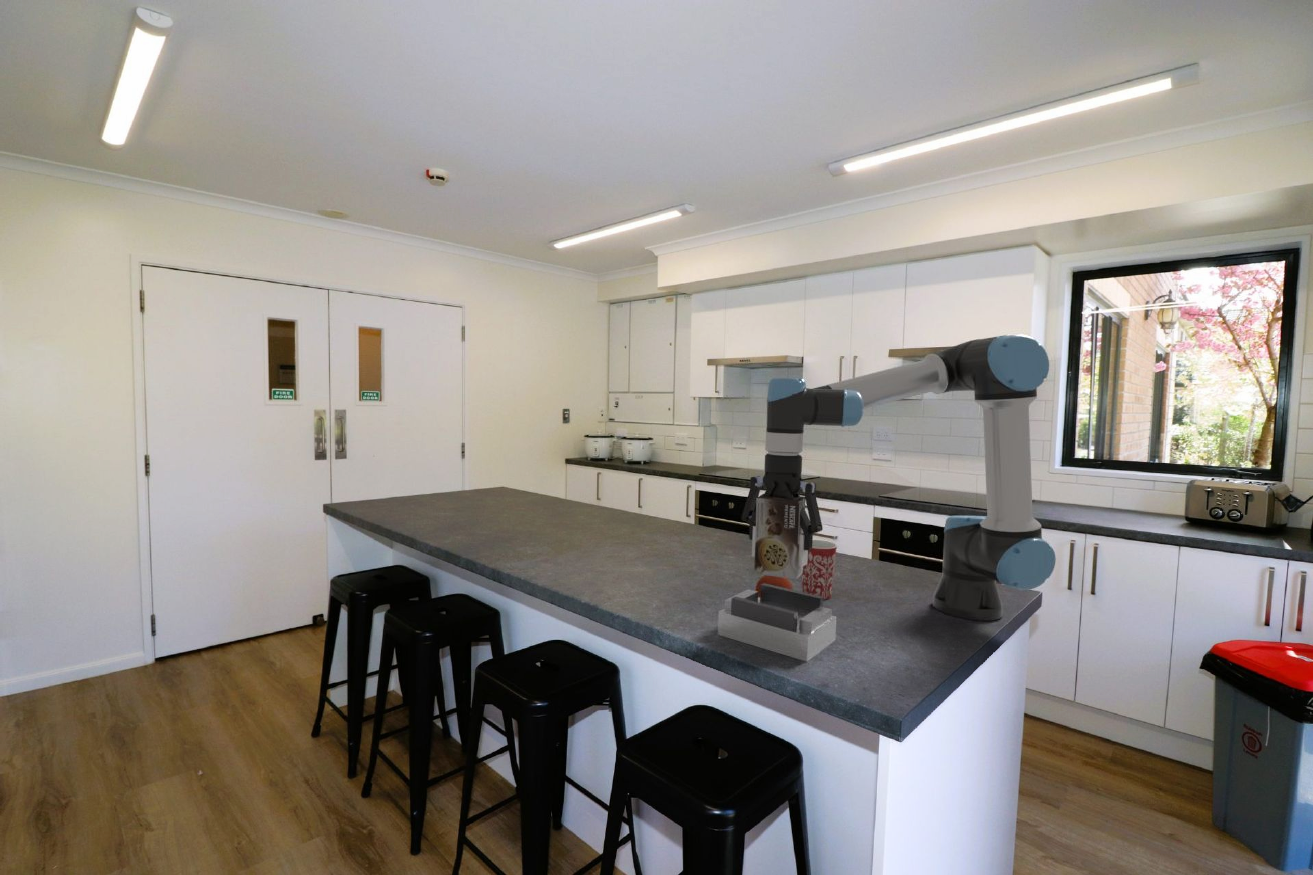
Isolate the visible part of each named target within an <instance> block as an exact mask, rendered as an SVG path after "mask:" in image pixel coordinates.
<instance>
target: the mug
mask: <svg viewBox="0 0 1313 875" xmlns="http://www.w3.org/2000/svg"><path fill="white" fill-rule="evenodd" d="M837 549H838V544H836V543H834V542H831V541H827V540H823V539H822V540H821V539H813V542H812V549H811V550H808V560H807V565H805V566H803V573H802V574H801V592H804V593H809V594H813V595H817V596H822V597H823V601H824V600H825V601H826V600H829V599H831V598H832V593H833V591H832V590H833V583H834V574H835V572H834V571H835V564H836V556H837Z"/></svg>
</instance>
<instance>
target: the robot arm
mask: <svg viewBox="0 0 1313 875" xmlns="http://www.w3.org/2000/svg"><path fill="white" fill-rule="evenodd" d="M1048 356H1049V355H1048V353H1047V352H1046V349H1045V348H1044V346H1043V345H1042V344H1041V343H1040V342H1038V341H1037V340H1036V339H1035V338H1033V337H1031V336H1029V335H1025V334H1005V335H999V336H993V337H985V338H978V339H973V340H969V341H965V342H962V343H959V344H956V345H954V346H951V347H949V348H946V349H943V350H939V351H936V352H932V353H930V354H929V353H928V354H927V355H925V356H924V358H923V359H922V360H919V361H916V362H910V363H908V364H903V365H898V366H895V367H892V368H888V369H884V370H880V371H876V372H872V373H869V374H868V373H867V374H864V375H860V376H856V377H852V378H847V379H844V380H841V381H837V382H833V383H829V384H826V385H821V386H817V387H814V388H810V387H809V388H808V387H807V385H806V384H807V382H806V380H805V379H804V378H798V377H797V378H796V377H775V378H771V379H770V381H769V382H768V387H767V396H766V431H765V447H764V450H765V451H766V452H767V453H765V455H764V475H763V476H759V475H756V476H751V477H750V480H749V482H750V484H749V485H750V487H749V491H748V494H747V498H746V501H745V504H744V507H743V511H742V514H741V521H742V522H746V523H747V524H748V525H749V528H748V529H749V530H748V532H749V533H748V537H749V540H750V541H751V545H752V546H751V557H752V558H755V535H756V498H757V497H759V496H760V493H761V487H762V486H763V485H764V487H765V489H766V490H765V492H764V493H763V494H764V495H763V496H768V497H769V496H773V497H781V498H786V499H789V500H796V499H798V498H801V497H800V496H801V495H800V493H799V491H800V489H802V492H803V493H804V497H805V505H806V507H807V511H806V508H805V509H804V507H802V509H801V511H800V526H801V528H802V530H803V533H802V534H800V536H799V558H798V566H800V567H803V566H805V565H807V560H808V550H811V549H812V542H813V540H814V539H813V537H814V534H817V533H819V532H822V531H823V524H822V518H821V514H820V510H819V505H818V500H817V496H816V490H817V483H815V482H806V481H803V479H802V470H803V456H802V454H801V453H802V452H803V451H804V450H803V448H804V446H803V445H804V444H803V443H804V426H826V427H829V426H830V427H831V426H832V427H842V428H844V427H854V426H856V425H858V424H859V423H860V421H861V420H862V418H863V414H864V410H865V409H869V408H873V407H876V406H877V407H878V406H881V405H884V404H888V403H892V402H895V401H900V400H901V401H902V400H904V399H908V398H912V397H916V396H919V395H923V394H928V393H933V394H935V395H941V394H944V393H949V392H959V391H960V392H963V391H964V392H965V391H970V392H971V391H974V392H973V393H974V403H976V404H978V405H979V406H980V407H981V408H982V413H983V418H982V419H983V420H982V421H983V439H984V440H983V441H984V464H985V465H984V466H985V489H986V491H985V492H986V513H987V514H986V515H984V516H983V515H951V516H948V517H947V518H946V520H945V524H944V530H943V534H944V536H943V537H944V538H943V551H942V552H943V553H942V554H943V555H942V556H943V557H942V571H941V572H942V573H941V577H940V579H939V582H937V583H938V584H937V586H936V588H935V590H934V593H933V597H932V606H933V608H934V609H935V610H937V611H939V612H941V613H943V614H946V615H949V616H953V617H956V618H962V619H966V620H974V621H996V620H999V619H1001V618H1002V617H1003V613H1004V605H1003V603H1002V602H1003V601H1002V599H1001V596H1000V592H999V588H998V585H997V582H998V583H1000V584H1002V585H1003V586H1005V587H1009V588H1013V589H1016V590H1020V591H1029V590H1032V589H1033V590H1035V589H1036V588H1038V587H1040V586H1041V585H1043V584H1045V582H1046V580H1047V579H1049V578H1050V577H1051V576H1052V574H1053V571H1054V569H1055V567H1056V562H1057V561H1056V559H1057V558H1056V553H1055V550H1054V548H1053V547H1052V546H1051V545H1050V544H1049V543H1048V542H1047V541H1046V540H1044V539H1043V534H1042V533H1043V532H1042V530H1043V529H1042V524H1041V523H1040V522H1039V521H1038V520H1037V519H1035V518H1034V516H1033V514H1034V513H1033V512H1034V511H1033V492H1032V489H1033V488H1032V460H1031V458H1032V456H1031V438H1030V436H1031V434H1030V430H1031V429H1030V405H1031V404H1032V403H1033V402H1034V401H1035V400H1036V399H1037V398H1038V393H1037V391H1038V387H1040V386H1041V385H1042V384H1043V383H1044V382H1045V379H1047V377H1048V374H1049V371H1050V360H1049V357H1048ZM800 454H801V455H800ZM794 497H797V498H794Z"/></svg>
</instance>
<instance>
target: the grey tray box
mask: <svg viewBox="0 0 1313 875" xmlns="http://www.w3.org/2000/svg"><path fill="white" fill-rule="evenodd" d="M717 617H718V622H717V635H718V636H721V637H725V638H727V639H731V640H735V641H738V642H741V643H744V644H747V645H749V646H750V645H751V646H754V647H757V648H761V649H764V650H767V651H770V652H773V653H777V654H781V655H784V656H786V657H790V658H793V659H797V660H800V661H803V662H806V663H807V662H809V661H810V660H812V659H813V658H814V657H815V656H817V655H818V654H819V653H821V652H822V651H824V649H826V648H827V647H829V645H831V644H832V643H834V642H835V641H836V636H837V634H836V633H837V616H836V615H833V609H832V608H827V607H824V600H823V597H822V596H817V595H813V594H809V593H804V592H802V591H798V590H795V589H793V590H791V589H787V588H783V587H778V586H774V585H770V584H765V583H763V584H761V590H760V598H759V597H758V591H755V589H753V590H752V589H749V588H748V589H746V590H743V591H741V592H739V593H737V594H735V595H733V596H731V597H728V598H727V599H725V600H724V608H723V609H721V610H719V611H718V616H717Z"/></svg>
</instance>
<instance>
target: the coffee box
mask: <svg viewBox="0 0 1313 875" xmlns="http://www.w3.org/2000/svg"><path fill="white" fill-rule="evenodd" d="M763 495H764V493H762V494H759V496H758V497H757V498H756V506H755V510H756V535H755V557H754V567H753V568H754V569H753V573H754V574H755V575H762V576H764V575H768V576H775V577H782V578H787V579H788V580H789V579H791V580H798V579H799V578H800V577H801V576H802V573H803V567H800V566H798V558H799V536H800V534H802V533H803V530H802V528H801V526H800V511H801V509H802V507H804V509H805V510H806V500H805V496H801V495H800V497H801V498H798V499H796V500H789V499H786V498H781V497H773V496H769V497H768V496H763ZM794 498H797V497H794Z"/></svg>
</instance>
